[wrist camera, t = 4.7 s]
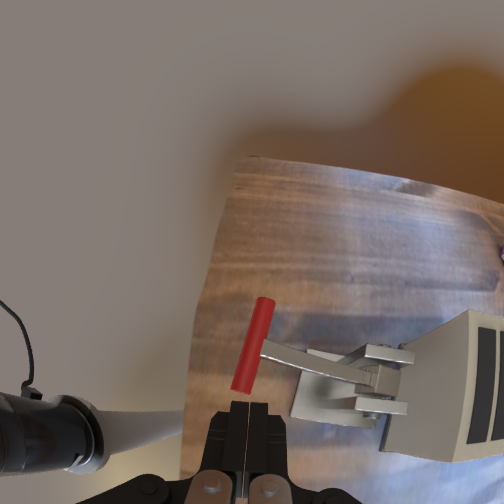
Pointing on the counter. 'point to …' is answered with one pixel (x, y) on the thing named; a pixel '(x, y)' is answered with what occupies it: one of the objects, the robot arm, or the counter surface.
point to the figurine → (503, 254)
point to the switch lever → (305, 361)
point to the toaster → (452, 393)
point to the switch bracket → (348, 390)
